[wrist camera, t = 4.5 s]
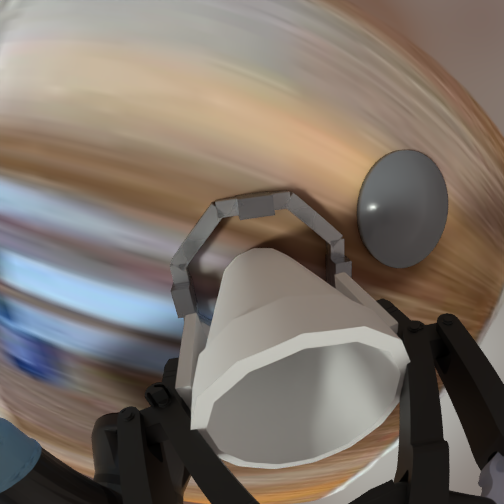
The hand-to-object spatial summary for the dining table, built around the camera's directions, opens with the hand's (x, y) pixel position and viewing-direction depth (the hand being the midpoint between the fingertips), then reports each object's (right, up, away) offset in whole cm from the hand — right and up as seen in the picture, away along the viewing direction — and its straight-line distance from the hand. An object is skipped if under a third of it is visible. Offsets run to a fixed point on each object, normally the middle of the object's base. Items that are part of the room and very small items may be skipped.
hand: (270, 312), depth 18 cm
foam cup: (-1, +1, +4) cm, 4 cm away
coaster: (+13, +8, +4) cm, 16 cm away
